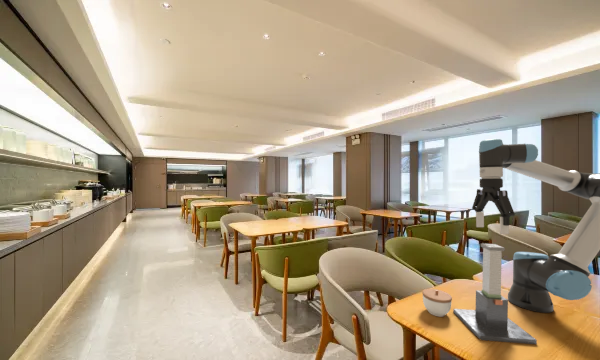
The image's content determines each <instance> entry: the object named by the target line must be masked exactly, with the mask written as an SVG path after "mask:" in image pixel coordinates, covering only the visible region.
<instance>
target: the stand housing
mask: <svg viewBox="0 0 600 360" xmlns="http://www.w3.org/2000/svg"><path fill="white" fill-rule="evenodd" d="M508 310H509V300H508V298H506V297H504V296H503V295H501V298H488V297H487V296H486V295H484V294H483V293H482V290H476V289H475V309H463V308H453V314H455V315H456V317H457V318H458V319H459V320H460V321H461V323H463V324H464V325H465V326H466V328H468V329H469V330H470V331H471V332H472V334H473V335H474V336H477V337H478V338H479V339H481V340H480V341H488V340H489V341H490V342H500V343H501V342H502V343H515V344H526V345H527V344H529V345H537V344H538V343H537V341H538V340H537V339H536V338H535V337H534V336H532V335H531V334H530V333H529V332H527V331H525V330H524V328H522V327H521V326H519V325H518V324H517V323H515V322H514V321H513V320H511V319H510V318H509V317H508V316H509V315H508V313H509V312H508ZM477 337H476V338H477ZM478 338H477V339H478ZM479 339H478V340H479Z"/></svg>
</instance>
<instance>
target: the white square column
mask: <svg viewBox="0 0 600 360" xmlns="http://www.w3.org/2000/svg"><path fill="white" fill-rule="evenodd" d="M480 248H482V249H483V252H482V288H481V291H482V293H483V294H484V295H486V296H487V297H488V298H501V296H502V260H503V259H502V257H503V253H502V252H505V250H506V249H505V247H503V246H501V245H498V244H496V243H480Z"/></svg>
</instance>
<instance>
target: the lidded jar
mask: <svg viewBox="0 0 600 360" xmlns="http://www.w3.org/2000/svg"><path fill="white" fill-rule="evenodd" d="M421 293H422V302H423V305H424V308H425V309H426V310H427V311H428V313H429V314H430V315H432V316H435V317H439V318H440V317H445V316H446V315H447V314H449V312H450V310H451V308H452V300H453V297H452V295H451V294H449V293H448V292H446V291H443V290H441V289H436V288H425V289H423V290H422V292H421Z"/></svg>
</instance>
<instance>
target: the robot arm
mask: <svg viewBox="0 0 600 360" xmlns="http://www.w3.org/2000/svg"><path fill="white" fill-rule="evenodd" d="M503 142H504V141H503V140H502V139H501V138H499V139H498V138H493V139H492V138H491V139H490V138H489V139H484V140H481V141H480V142H479V146H478V155H479V157H478V158H479V160H478V161H479V163H478V164H479V177H480V178H479V187H480V188H479V189H478V188H477V189H476V194H475V195H476V196H475V198H474V200H473V204H472V207H471V209H472V210H474V211H475V221H476V223H475V227H476V228H484V227H485V218H484V217H485V216H484V215H485V211H484V209H485V207H486V206H487V204H488V202H492V203H493V204H494V206H495V207H496V208H497V210H498V212H499V214H500V216H499V234H500V235H509V234H510V224H511V223H510V217H515V215H516V213H515V211H514V209H513V206H512V204H511V201H510V198H509V196H508V195H509V194H508V190H506V189H505V190H501V189H502V188H503V187H504V180H503V177H504V169H506V170H509V171H512V172H515V173H518V174H521V175H523V176H526V177H529V178H532V179H535V180H537V181H541V182H544V183H547V184H549V185H553V186H555V187H557V188H558V189H559V190H560V191H563V192H566V193H568V194H570V195H574V196H576V197H580V198H582V199H585V200H589V201H590V202H591V205H590V206H589V208H588V209H587V211H586V212H585V214H584V215H583V216H582V218H581V220H579V222H578V224H577V226H576V227H575V228H574V230H573V231H572V233H571V234H570V235H569V237H568V238H567V240H566V241H565V243H564V244H563V246H561V249H560V250H559V251H558V253H555V254H553V253H552V254H550V255H548V254H544V253H540V252H530V251H516V252H514V254H513V257H512V260H513V263H512V284H511V287H510V288H509V291H508V293H507V300H508V302H509V303H511V304H513V305H514V306H517V307H519V308H521V309H525V310H527V311H528V310H529V311H532V312H535V313H536V312H537V313H542V314H543V313H544V314H547V313H548V314H549V313H553V312H554V303H553V301H552V298H551V295H553V296H555V297H559V298H561V299H564V300H567V301H575V300H576V301H577V300H581V299H584V298H585V297H587V296H588V295H589V294H590V293H591V291H592V285H591V284H592V281H591V279H590V278H589V276H590V275H591V272H590V269H589V266H590V264H591V263H592V262H593V260H594V259H595V258H596V256H597V254H598V253H599V252H600V173H593V172H591V173H589V172H581V171H577V170H575V169H574V170H573V169H572V170H566V169H563V168H561V167H558V166H555V165H551V164H549V163H546V162H542V161H540V160H537V159H538V157H539V148H538V147H537V145H535V144H533V143H515V144H514V143H513V144H512V143H511V144H506V143H503ZM550 294H551V295H550Z"/></svg>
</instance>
